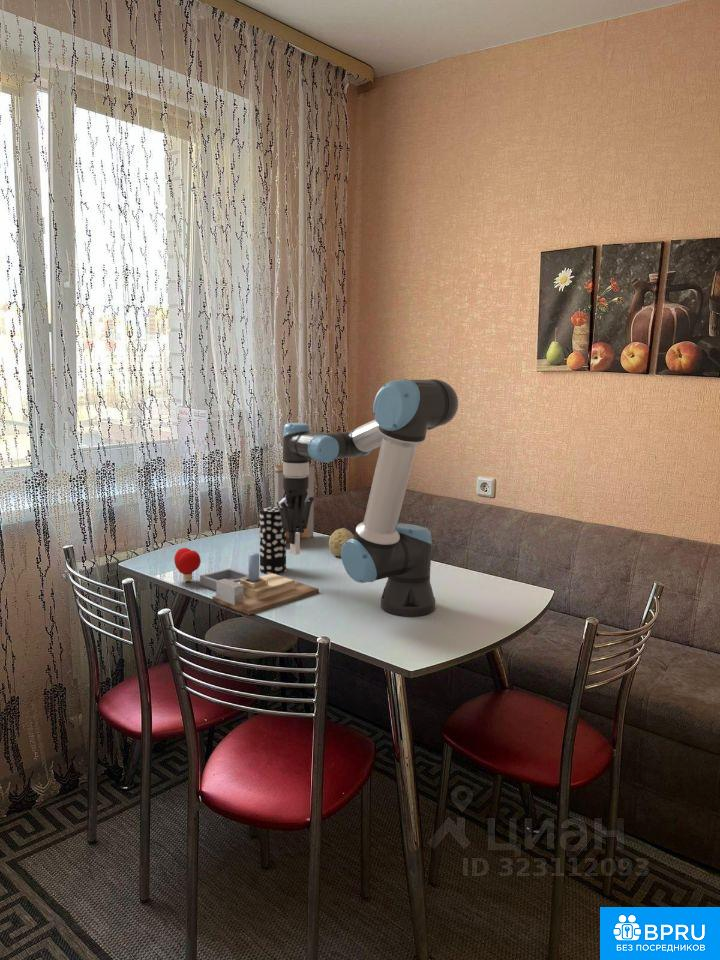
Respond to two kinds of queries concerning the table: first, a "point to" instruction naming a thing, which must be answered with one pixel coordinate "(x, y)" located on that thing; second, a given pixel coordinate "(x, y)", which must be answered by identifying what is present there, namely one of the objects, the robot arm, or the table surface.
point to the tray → (229, 574)
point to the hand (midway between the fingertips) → (294, 553)
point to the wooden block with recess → (266, 586)
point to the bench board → (270, 599)
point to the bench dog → (229, 591)
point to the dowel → (253, 567)
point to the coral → (339, 540)
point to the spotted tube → (272, 541)
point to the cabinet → (280, 492)
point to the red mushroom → (187, 562)
